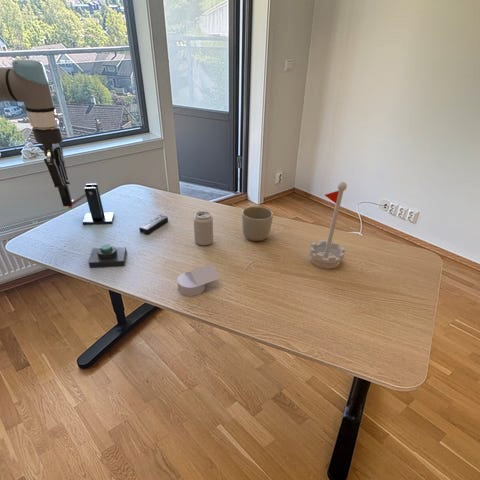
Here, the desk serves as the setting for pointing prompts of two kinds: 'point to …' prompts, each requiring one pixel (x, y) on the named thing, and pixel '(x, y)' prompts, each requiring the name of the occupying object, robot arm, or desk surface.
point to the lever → (78, 199)
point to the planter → (256, 222)
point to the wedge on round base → (196, 280)
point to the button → (106, 248)
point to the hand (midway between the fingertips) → (68, 205)
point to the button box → (108, 257)
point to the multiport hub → (153, 224)
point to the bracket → (95, 208)
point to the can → (203, 228)
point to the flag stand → (329, 238)
